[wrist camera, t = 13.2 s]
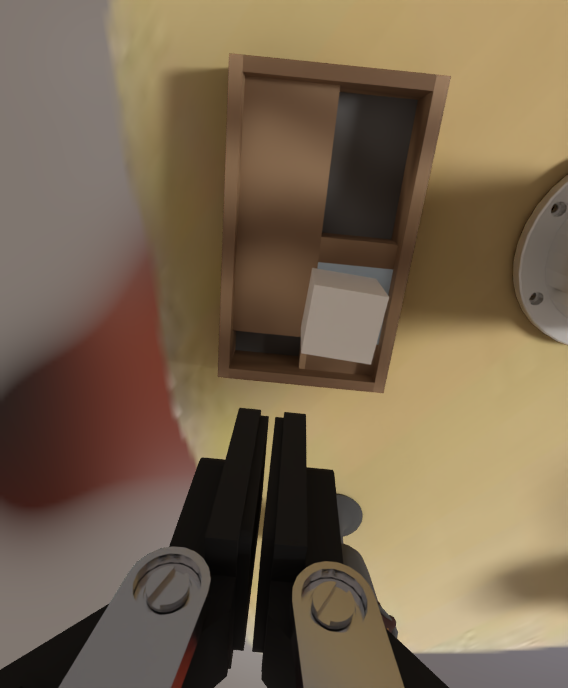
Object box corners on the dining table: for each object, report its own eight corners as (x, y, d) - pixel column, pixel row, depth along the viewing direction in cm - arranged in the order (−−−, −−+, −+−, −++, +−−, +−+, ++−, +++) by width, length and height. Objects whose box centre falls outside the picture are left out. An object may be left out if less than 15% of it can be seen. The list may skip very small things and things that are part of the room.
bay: (316, 255, 28) (318, 261, 25) (386, 262, 28) (393, 269, 26) (308, 326, 29) (308, 337, 27) (373, 332, 29) (378, 344, 27)
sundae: (383, 532, 37) (433, 752, 23) (311, 551, 38) (318, 771, 24) (359, 476, 34) (399, 682, 21) (283, 498, 36) (274, 707, 22)
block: (312, 267, 26) (314, 284, 22) (376, 278, 26) (389, 297, 22) (300, 328, 27) (300, 353, 24) (361, 337, 27) (370, 364, 24)
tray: (237, 67, 24) (229, 53, 21) (432, 87, 24) (451, 76, 21) (225, 356, 31) (217, 376, 28) (375, 371, 31) (383, 393, 28)
